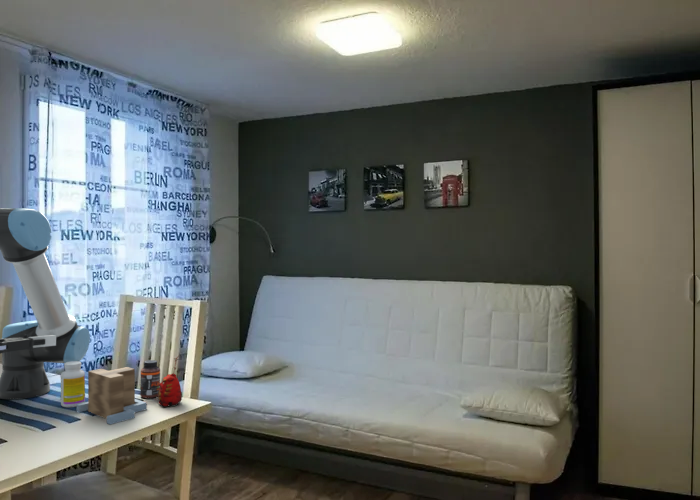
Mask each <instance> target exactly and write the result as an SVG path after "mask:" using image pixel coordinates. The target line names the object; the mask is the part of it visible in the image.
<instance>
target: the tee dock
mask: <svg viewBox="0 0 700 500" xmlns="http://www.w3.org/2000/svg"><path fill="white" fill-rule="evenodd" d="M147 404H148V403H147V402H146V401H143V400H140V399H137V398H135V404H133V405H129V406H125V407H124V412H121V413H117V414H113V415H109V416H107V419H106V424H108V425H113V424H116V423H120V422H124V421H127V420H131V419H134V418H135V413H138V412H141V411H145V410H147ZM86 411H88V401H85V403H81V404H77V407H76V412H77V413H82V412H86Z"/></svg>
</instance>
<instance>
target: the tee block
mask: <svg viewBox="0 0 700 500" xmlns="http://www.w3.org/2000/svg"><path fill="white" fill-rule="evenodd" d="M135 372H136V369H135V368H133V367H129V366H126V367H121V368H120V367H119V368H115V369H111V370H107V369H103V368H99V369H92V370H88V371H87V373H88V374H87V375H88V376H87V377H88V378H87V381H88V382H87V385H88V386H87V387H88V388H87V390H88V391H87V392H88V393H87V394H88V395H87V397H88V398H87V400H88V401H87V402H88V410H87V411H88V413H90V412H91V413H90V414H93V415H96V416H98V417H101V418H104V419H106V420H107V416H109V415H113V414H117V413H121V412H124V407H125V406H129V405H133V404H135V399H136V393H135V392H136V389H135V388H136V387H135V386H136V385H135V379H136V376H135V375H136V373H135Z"/></svg>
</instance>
